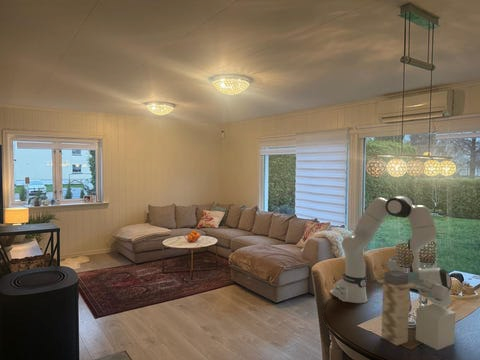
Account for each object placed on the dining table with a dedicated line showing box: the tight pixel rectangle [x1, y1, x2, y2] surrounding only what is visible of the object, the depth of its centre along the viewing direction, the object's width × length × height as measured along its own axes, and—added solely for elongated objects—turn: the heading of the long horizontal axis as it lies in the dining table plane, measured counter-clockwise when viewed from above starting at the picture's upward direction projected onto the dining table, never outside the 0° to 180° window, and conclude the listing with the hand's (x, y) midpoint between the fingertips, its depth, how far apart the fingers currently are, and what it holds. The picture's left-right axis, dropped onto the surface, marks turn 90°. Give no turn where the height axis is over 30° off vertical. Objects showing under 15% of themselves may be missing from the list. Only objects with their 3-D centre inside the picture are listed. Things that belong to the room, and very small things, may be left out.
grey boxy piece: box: [384, 270, 419, 285], centre depth 149 cm, size 6×18×4 cm, turn 117°
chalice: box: [387, 257, 403, 272], centre depth 226 cm, size 14×14×15 cm
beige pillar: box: [377, 277, 416, 346], centre depth 147 cm, size 12×10×26 cm
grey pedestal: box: [415, 303, 456, 351], centre depth 146 cm, size 10×12×14 cm
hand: (413, 278), depth 152 cm, fingers open, 8 cm apart
